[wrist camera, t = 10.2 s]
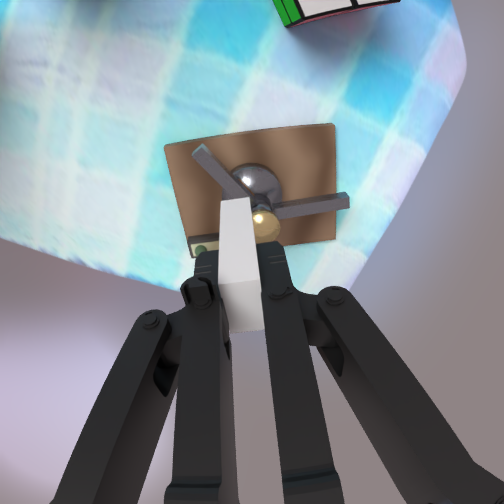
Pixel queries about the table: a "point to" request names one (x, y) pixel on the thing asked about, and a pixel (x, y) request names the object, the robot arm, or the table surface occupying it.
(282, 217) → the cam capstan
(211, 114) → the table surface
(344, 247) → the table surface
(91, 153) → the table surface
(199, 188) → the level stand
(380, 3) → the puzzle cube
